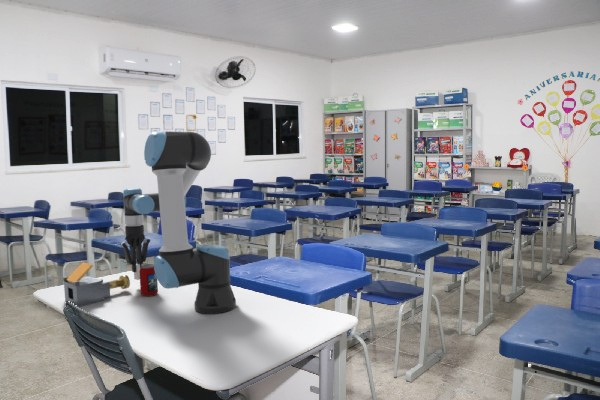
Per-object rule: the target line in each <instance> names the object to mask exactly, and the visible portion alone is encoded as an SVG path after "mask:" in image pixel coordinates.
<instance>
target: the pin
mask: <svg viewBox="0 0 600 400" xmlns="http://www.w3.org/2000/svg"><path fill="white" fill-rule="evenodd" d="M130 280H131V279H130V277H129V276H128V275H127V274H123V275H120V276H119V278H118V279H113V280H110V281H108V282H109V283H110V290H113V289H117V288H121V289H122V290H126V289H130V285H131V281H130Z"/></svg>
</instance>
